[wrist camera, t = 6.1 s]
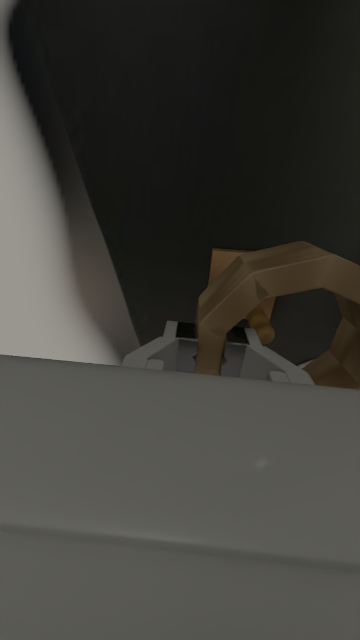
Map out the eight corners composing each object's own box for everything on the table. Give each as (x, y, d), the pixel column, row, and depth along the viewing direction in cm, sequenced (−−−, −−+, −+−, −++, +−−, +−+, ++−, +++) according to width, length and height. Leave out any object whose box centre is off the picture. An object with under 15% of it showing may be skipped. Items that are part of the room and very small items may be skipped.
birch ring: (205, 232, 11) (208, 244, 9) (398, 249, 11) (462, 265, 8) (188, 384, 15) (186, 424, 13) (327, 398, 15) (354, 440, 13)
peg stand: (212, 247, 31) (221, 285, 19) (283, 253, 31) (339, 294, 18) (204, 310, 35) (207, 375, 23) (266, 316, 35) (303, 384, 23)
